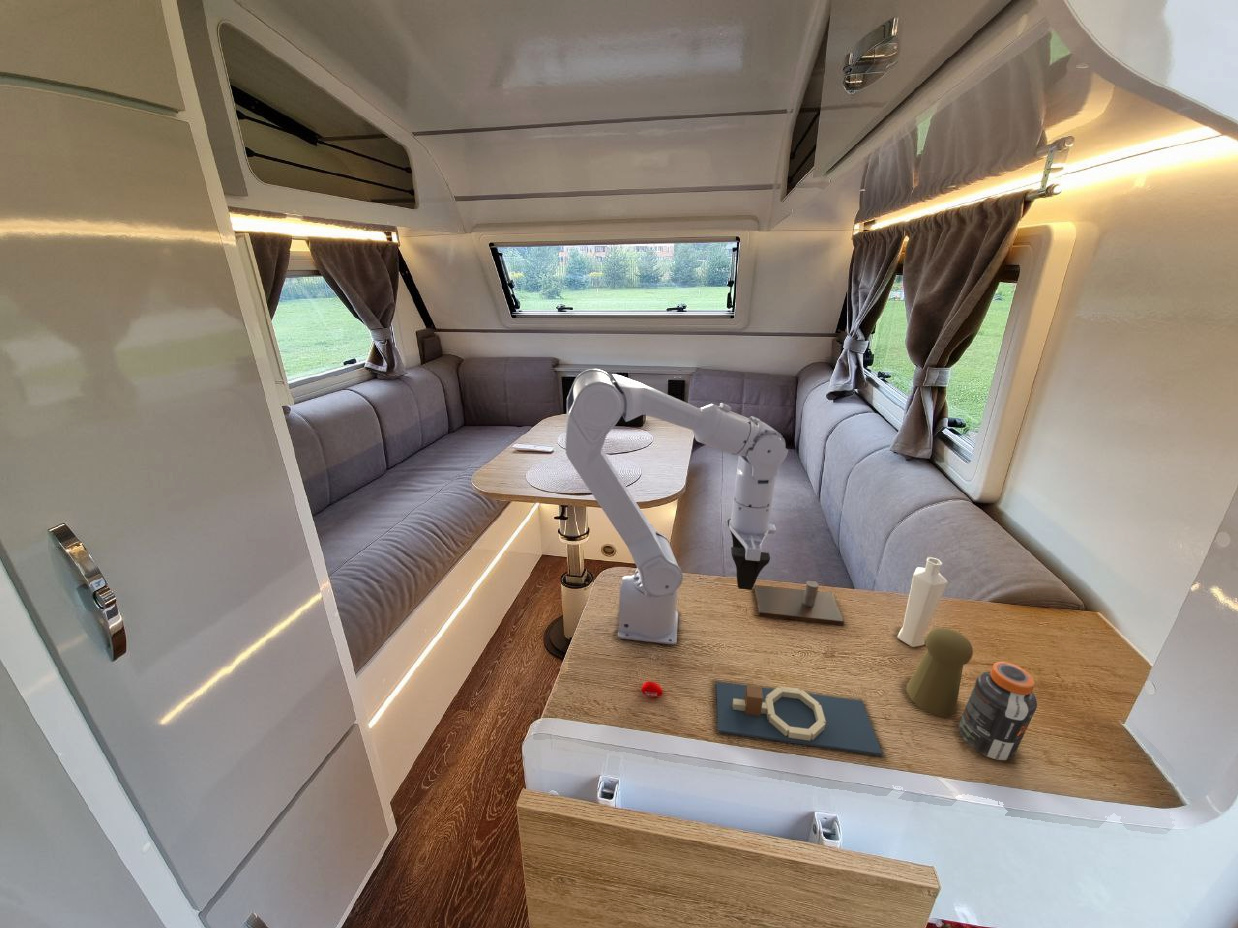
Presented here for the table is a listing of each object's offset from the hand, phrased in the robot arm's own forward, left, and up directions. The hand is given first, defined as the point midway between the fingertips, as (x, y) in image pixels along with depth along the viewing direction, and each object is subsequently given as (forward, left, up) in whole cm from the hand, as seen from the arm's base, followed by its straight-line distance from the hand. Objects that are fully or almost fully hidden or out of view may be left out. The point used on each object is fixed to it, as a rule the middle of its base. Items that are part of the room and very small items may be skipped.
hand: (742, 573), depth 78 cm
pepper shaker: (+26, -12, -10) cm, 30 cm away
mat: (+6, -19, -9) cm, 22 cm away
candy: (-13, -18, -10) cm, 24 cm away
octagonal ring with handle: (+4, -19, -9) cm, 21 cm away
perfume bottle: (+28, 0, -10) cm, 30 cm away
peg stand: (+11, +6, -9) cm, 16 cm away
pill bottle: (+30, -18, -10) cm, 36 cm away
